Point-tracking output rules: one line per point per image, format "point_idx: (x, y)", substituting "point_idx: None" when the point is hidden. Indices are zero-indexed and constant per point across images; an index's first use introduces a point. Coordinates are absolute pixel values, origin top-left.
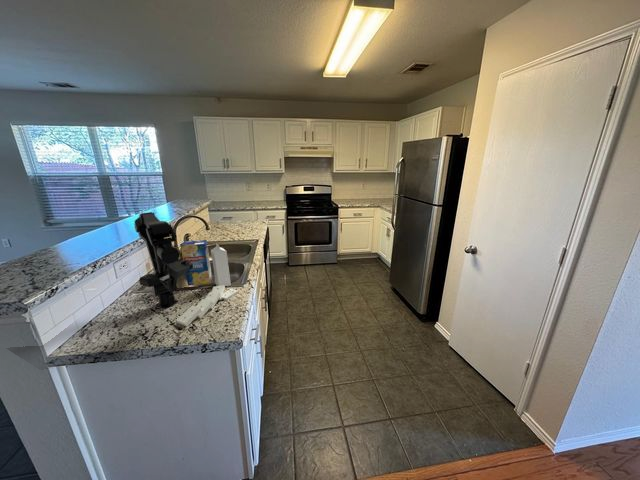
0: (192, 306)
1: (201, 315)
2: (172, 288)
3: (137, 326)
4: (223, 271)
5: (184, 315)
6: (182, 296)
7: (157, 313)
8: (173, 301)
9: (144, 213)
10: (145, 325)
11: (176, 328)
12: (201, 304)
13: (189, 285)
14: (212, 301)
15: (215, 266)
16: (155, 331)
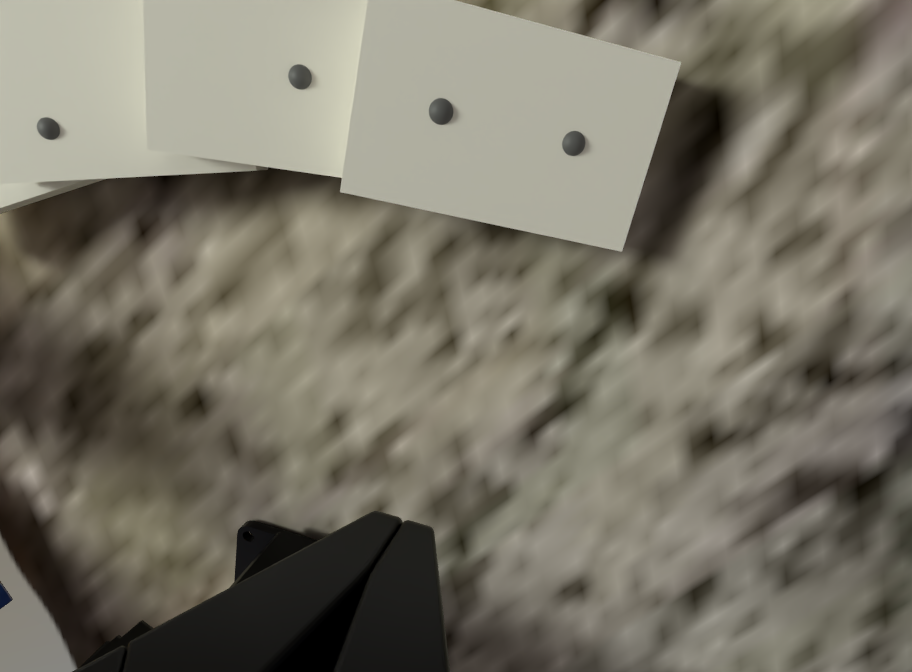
0: (359, 168)
1: None
2: (360, 597)
3: (721, 635)
4: None
5: (535, 183)
6: (163, 539)
7: (476, 589)
8: (285, 551)
9: None
10: (693, 572)
11: (706, 184)
12: (258, 103)
13: (2, 588)
14: (137, 16)
15: None
16: (793, 396)
